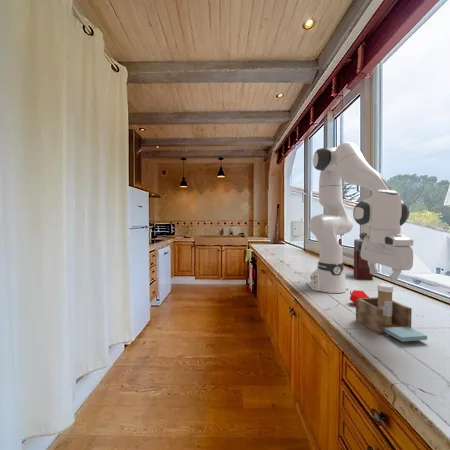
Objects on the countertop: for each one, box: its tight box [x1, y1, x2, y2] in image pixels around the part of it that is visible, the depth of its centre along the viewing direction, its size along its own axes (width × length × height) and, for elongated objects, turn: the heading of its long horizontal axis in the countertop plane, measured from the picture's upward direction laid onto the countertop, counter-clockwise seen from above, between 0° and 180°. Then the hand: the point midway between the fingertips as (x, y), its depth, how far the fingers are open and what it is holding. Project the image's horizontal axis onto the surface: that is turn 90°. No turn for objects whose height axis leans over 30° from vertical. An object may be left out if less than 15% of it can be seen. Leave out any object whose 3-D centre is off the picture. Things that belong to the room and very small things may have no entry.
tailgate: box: [384, 326, 428, 342], centre depth 81 cm, size 1×8×7 cm
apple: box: [349, 289, 370, 306], centre depth 112 cm, size 7×7×8 cm
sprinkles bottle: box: [377, 283, 394, 326], centre depth 90 cm, size 5×5×13 cm
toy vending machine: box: [353, 231, 374, 281], centre depth 158 cm, size 9×11×28 cm
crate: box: [355, 296, 413, 335], centre depth 90 cm, size 12×11×8 cm
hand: (382, 277), depth 90 cm, fingers open, 8 cm apart
